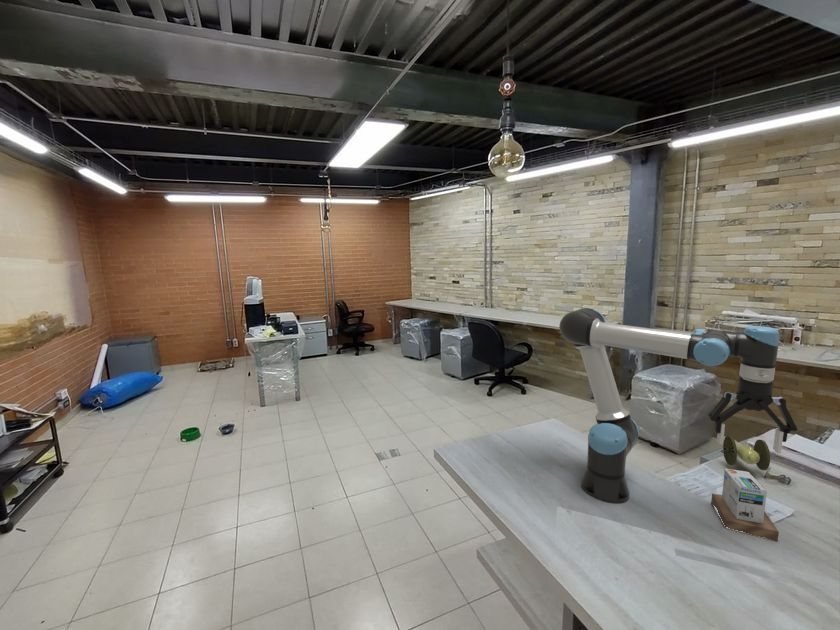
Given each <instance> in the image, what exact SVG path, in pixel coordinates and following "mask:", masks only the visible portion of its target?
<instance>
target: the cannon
mask: <svg viewBox="0 0 840 630" xmlns="http://www.w3.org/2000/svg"><path fill="white" fill-rule="evenodd" d="M722 450H723V457H724V460H725V463H726V464H727V465H729V466H735V465H736V462H737V459H738V458H739V459H740V460H742V461H743V462H744V463H746V464H748V465H756V467H757V468H758V469H759V470H761V471H767V470H768V469H769V467H770V465H771V464H770V463H771V454H770V453H771V452H770V448H769V445H768V444H767V442H766V441H765V440H763V439H757V440H756V441H755V442H754V446H753V448H752V447H751V446H749V445H747V444H746V443H745V444H744V443H740V442H738V441H737V440H736V439H734V437H733V436H732V435H726V436H725V435H724V439H723V445H722Z"/></svg>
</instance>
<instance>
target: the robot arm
mask: <svg viewBox="0 0 840 630" xmlns="http://www.w3.org/2000/svg"><path fill="white" fill-rule="evenodd" d="M559 332H560V335H561V336H562V338H563V339H564V340H566V341H567V342H569V343H572V344H573V346H574V348H576V349H577V350H578V351H580V355H581V359H582V362H583V365H584V367H585V371H586V376H587V378H588V382H589V386H590V389H591V393H592V395H593V398H594V402H595V406H596V409H597V413H596V415H595V421H596V424H594V425H592V426H591V427H590V429H589V431H588V435H587V437H588V438H587V444H588V445H587V464H586V465H587V466H586V470H585V472H584V474H583V476H582V478H581V482H580V487H581V489H582V490H583V491H584V493H586V494H587V495H588V496H590V497H592V498H593V499H596V500H598V501H601V502H604V503H608V504H614V505H615V504H616V505H617V504H618V505H619V504H621V505H622V504H625V503H628V501H629V500H630V490H629V486H628V484H627V480H626V476H625V475H626V463H627V462H626V461H627V457H628V455H629V453H630V452H631V451H632V449H633V448H634V446H635V445H636V444H637V442H638V439H639V436H640V431H639V427H638V424H637V422H636V421H635V420H634V419H633V418H632V417H631V414H630V411H629V410H627V409H625V408H624V407H623V404H622V401H621V397H620V393H619V389H618V387H617V383H616V380H615V378H614V373H613V370H612V367H611V363H610V360H609V356H608V354H607V350H606V347H605V346H608V347H613V348H618V349H624V350H630V351H635V352H642V353H643V352H644V353H649V354H653V355H654V354H655V355H661V356H665V357H673V358H679V359H683V360H685V359H686V360H690V361H695V362H699V363H700V364H701V365H703V366H707V367H716V366H719V365H722V364H723V363H724V362H726V361H727V360H728V358H729V357H733V358H741V359H740V368H739V374H738V375H739V376H740V377H739V378H738V383H737V391H736V393H735V392H734V393H733V392H729V391H728V390H724V391H723V394H722V398H721V399H720V400H719V401H718V402H717V404H716V405H714V407H713V408H712V410H710V412H709V413H708V414H707V416H708V418H709V420H711V421H712V422H714V428H713V430H714V432H715V433H716V434H717V436H716V441H717V444H719V445H721V446H723V439H724V436H725V428H726V427H725V426H726V424H725V423H724V422H726V421H727V420H729V419H730V418H731V417H733V416H734V415H735V414H737V413H739V412H740V411H743V410H744V409H745V410H746V411H748V410H749V411H756V412H761V411H764V412H765V413H766V414H767V415H768V416H769V417H770V419H771V420H772V421H773V422H774V423H775V424H776V425H777V426H778V428H777V427H776V428H775V432H774V438H773V444H772V445H773V447H772V449H773V450H774V451H775V453H777V454H781V453H782V447H783V443H786V442H787V441H788V440H787V439H788V434H790V433H791V432H792V431H793V432H797V431H798V428H797V425H796V423H795V421H794V420H793V418H792V415H791V413H790V412H789V409H788V408H787V401H786V399H785V398H784V397H782V396H781V395H778V396H775V397H773V396H772V394H773V389H774V382H773V381H774V380H775V372H776V365H777V357H778V351H779V343H780V342H779V340H780V332H779V330H778V329H776V328H773V327H769V326H762V325H761V326H760V325H757V326H756V325H748V326H746V327H744V330H743V332H742V331H739V332H738V331H727V330H720V329H719V330H718V329H710V328H697V329H695V330H694V331H693V333H687V332H679V331H672V330H664V329H663V330H662V329H655V328H649V327H642V326H633V325H627V324H626V325H625V324H619V323H610V322H606V319H605V316H604V315H603V313H601V312H600V311H599V310H597V309H595V308H593V307H592V308H591V307H583V308H579V309H577V310H574V311H570V312H567V314H565V315H564V316H562V318H561V319H560V322H559ZM734 399H736V401H734V402H733V404H732V405H731V406H729V407H727V406H728V405H729V404H730V402H731V401H733V400H734ZM772 403H774V404H775V405H776V406H777V408H778V410H779V412H780V414H781V416H782V418H783V420H784V422H785V424H786V425H785V424H784V423H783V422H782V420H781V419H780V418H779V417H778V416H777V415H776V414H775V412H774V411H773V410H772V409H771V407H769V406H770V405H771V404H772ZM726 407H727V408H726ZM725 408H726V409H725Z"/></svg>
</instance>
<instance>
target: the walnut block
mask: <svg viewBox="0 0 840 630" xmlns="http://www.w3.org/2000/svg"><path fill="white" fill-rule="evenodd" d="M710 505H714V506H715V507H716V508H717V510H718V513H719V515H720V517H721V519H722V521H723V523H724V525H725V527H728V528H730V529H734V530H738V531H743V532H746V533H749V534H752V535H751V536H753V535H756V536H755V537H757V536H760V537H759V538H761V537H765V538H767V539H766V540H769V539H771V540H770V541H773V540H774V542H778V541H779V540H778V539H779V532H780V531H779V529H777V526H776V525H775V524H774V523H773V521H772V520H771V518H770V517H769V515H768V513H766V510H765V511H764V520H763V524H761V523H756V522H751V521H745V520H739V519H736V518H735V516H734V515H733V513H732V512H731V511H730V509H729V508H728V506H727V505H726V504H725V502H724V501H723V499H722V494H717V493H711V500H710ZM723 523H722V524H723ZM724 525H723V526H724ZM725 527H724V528H725ZM749 534H748V535H749ZM765 538H764V539H765Z"/></svg>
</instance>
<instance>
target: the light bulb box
mask: <svg viewBox="0 0 840 630" xmlns="http://www.w3.org/2000/svg"><path fill="white" fill-rule="evenodd" d="M767 493H768V491H767V489H766V488H765V487H764V486H763V485H761V484H760V482H759V481H757V479H756V478H755V477H754V476H753V475H752V473H750V472H749V471H745V470H737V469H731V468H724V474H723V483H722V491H721V495H722V499H723V501H724V502H725V504H726V505H727V506H728V508H729V509H730V511H731V512H732V513H733V515H734V516H735V518H736V519H739V520H745V521H751V522H756V523H761V524H763V520H764V511H765V512H766V509H765V507H766V502H767Z"/></svg>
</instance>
